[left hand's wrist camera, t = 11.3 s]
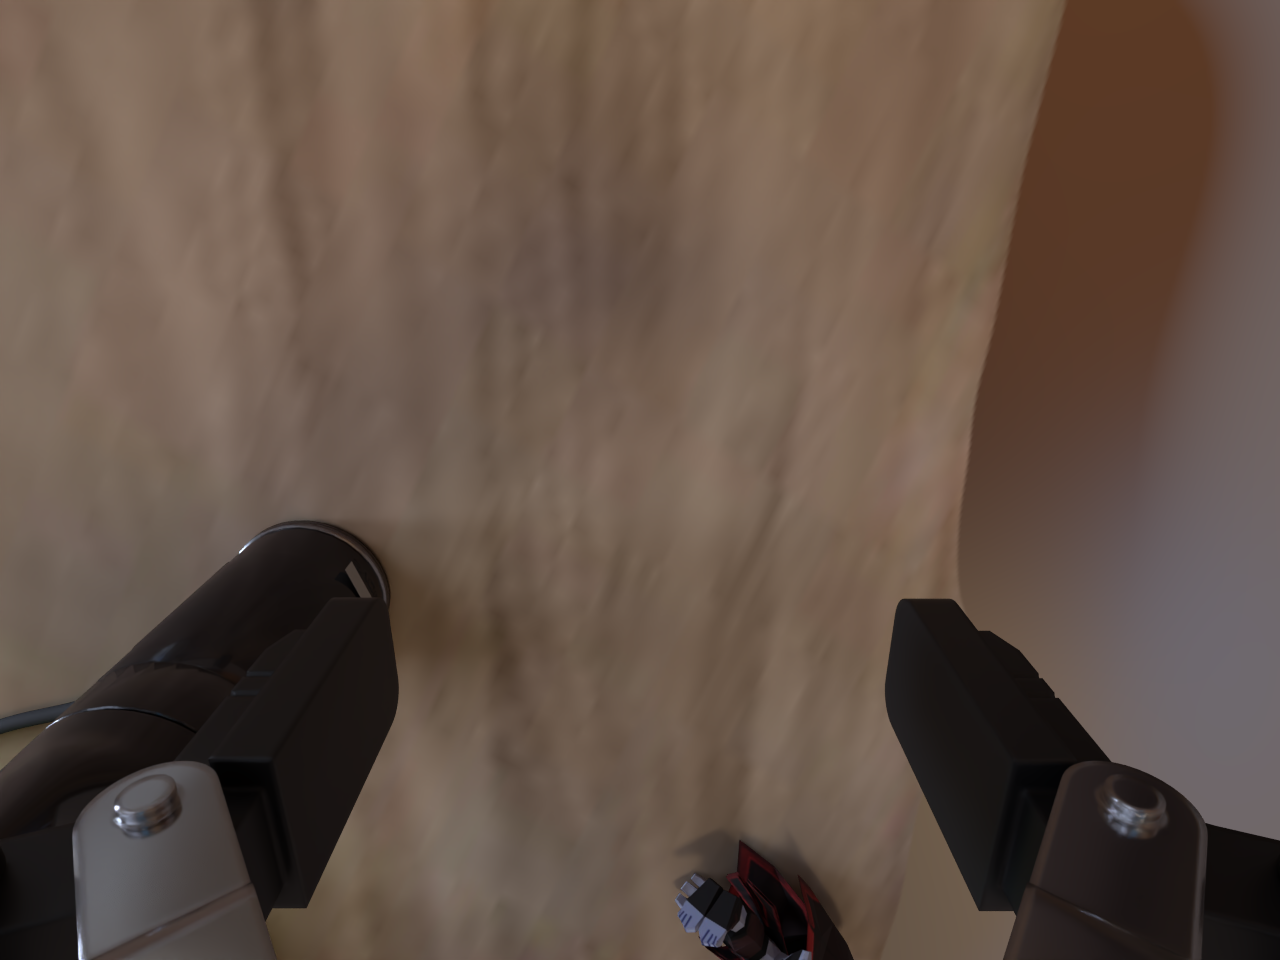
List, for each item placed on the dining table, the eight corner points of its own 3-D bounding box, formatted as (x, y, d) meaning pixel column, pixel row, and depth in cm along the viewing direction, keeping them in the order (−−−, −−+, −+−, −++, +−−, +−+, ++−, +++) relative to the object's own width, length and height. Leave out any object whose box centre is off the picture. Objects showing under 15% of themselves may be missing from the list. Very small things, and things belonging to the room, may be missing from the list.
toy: (738, 1020, 42) (853, 1131, 47) (823, 872, 46) (920, 990, 51) (621, 917, 52) (728, 1019, 57) (700, 802, 56) (792, 908, 61)
